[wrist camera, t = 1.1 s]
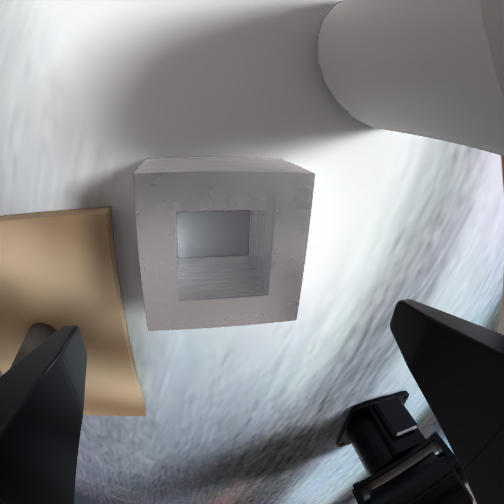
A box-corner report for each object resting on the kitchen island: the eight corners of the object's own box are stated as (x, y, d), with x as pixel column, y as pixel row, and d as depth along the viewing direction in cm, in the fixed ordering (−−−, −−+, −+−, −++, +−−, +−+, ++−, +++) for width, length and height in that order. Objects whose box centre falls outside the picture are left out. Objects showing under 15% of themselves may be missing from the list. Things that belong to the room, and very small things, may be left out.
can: (346, 150, 15) (562, 235, 5) (283, 19, 12) (480, -94, 1) (438, 104, 15) (616, 143, 5) (393, -8, 12) (570, -47, 1)
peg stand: (145, 405, 20) (146, 477, 14) (24, 398, 17) (6, 460, 12) (110, 206, 14) (74, 261, 9) (-42, 220, 12) (-104, 267, 6)
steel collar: (272, 277, 17) (296, 319, 14) (152, 283, 16) (148, 330, 12) (282, 158, 15) (314, 173, 11) (145, 158, 13) (133, 173, 10)
